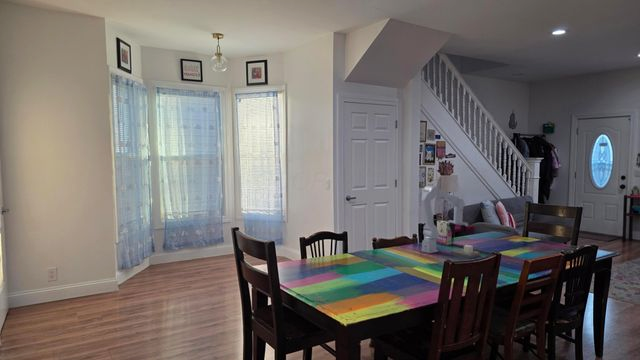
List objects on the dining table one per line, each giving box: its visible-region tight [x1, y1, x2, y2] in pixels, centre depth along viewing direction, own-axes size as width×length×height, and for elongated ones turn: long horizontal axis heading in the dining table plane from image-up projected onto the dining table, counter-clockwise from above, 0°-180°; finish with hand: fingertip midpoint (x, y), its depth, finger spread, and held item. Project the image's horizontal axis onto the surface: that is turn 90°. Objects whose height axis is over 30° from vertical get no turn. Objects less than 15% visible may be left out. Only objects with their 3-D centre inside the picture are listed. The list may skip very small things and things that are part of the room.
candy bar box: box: [436, 219, 453, 246], centre depth 302 cm, size 11×5×16 cm, turn 25°
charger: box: [463, 244, 474, 254], centre depth 269 cm, size 4×4×6 cm
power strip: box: [450, 248, 481, 259], centre depth 271 cm, size 12×14×2 cm
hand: (457, 234), depth 288 cm, fingers open, 7 cm apart
